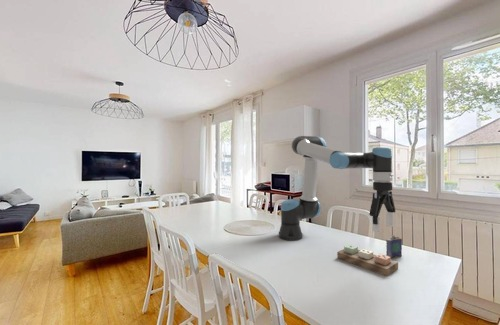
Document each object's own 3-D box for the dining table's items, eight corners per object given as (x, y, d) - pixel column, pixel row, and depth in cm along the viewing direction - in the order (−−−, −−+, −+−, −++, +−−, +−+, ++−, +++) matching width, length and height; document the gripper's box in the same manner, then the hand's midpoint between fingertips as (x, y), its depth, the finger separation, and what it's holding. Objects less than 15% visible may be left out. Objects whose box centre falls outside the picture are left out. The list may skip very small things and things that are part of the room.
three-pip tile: (375, 261, 103) (375, 255, 103) (379, 259, 105) (379, 253, 105) (386, 265, 99) (385, 259, 99) (390, 262, 102) (390, 256, 102)
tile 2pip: (358, 256, 109) (358, 250, 109) (363, 254, 111) (363, 248, 111) (368, 259, 105) (368, 253, 105) (373, 257, 108) (373, 251, 108)
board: (337, 258, 114) (337, 251, 114) (349, 252, 121) (349, 247, 121) (387, 276, 96) (387, 269, 96) (398, 268, 102) (398, 262, 102)
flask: (389, 258, 113) (389, 236, 113) (384, 256, 116) (384, 235, 116) (403, 256, 116) (403, 234, 116) (397, 253, 119) (397, 233, 119)
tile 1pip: (344, 251, 115) (344, 246, 115) (349, 249, 117) (349, 244, 117) (352, 254, 111) (352, 248, 111) (357, 252, 114) (357, 246, 114)
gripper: (378, 183, 93) (379, 236, 92) (402, 180, 108) (403, 225, 107) (360, 182, 99) (361, 232, 98) (385, 179, 114) (386, 222, 113)
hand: (383, 228), depth 103 cm, fingers open, 13 cm apart
